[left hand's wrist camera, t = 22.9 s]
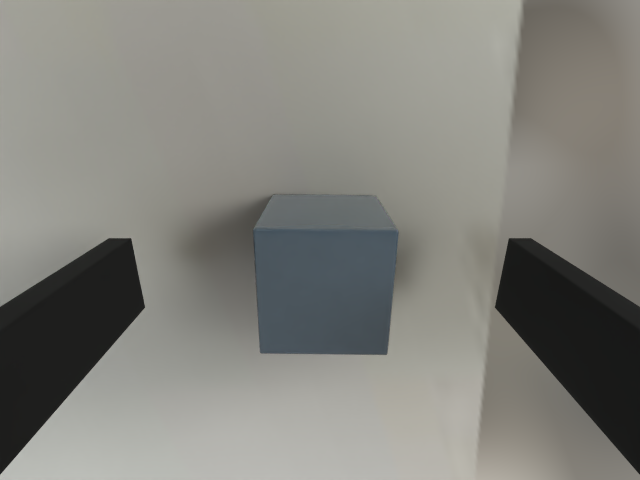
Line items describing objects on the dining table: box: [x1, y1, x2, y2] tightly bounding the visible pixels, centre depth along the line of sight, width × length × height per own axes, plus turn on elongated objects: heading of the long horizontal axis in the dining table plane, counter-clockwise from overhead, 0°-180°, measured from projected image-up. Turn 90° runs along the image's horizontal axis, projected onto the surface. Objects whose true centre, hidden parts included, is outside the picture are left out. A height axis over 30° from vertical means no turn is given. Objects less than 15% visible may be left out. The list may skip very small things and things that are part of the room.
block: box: [253, 194, 399, 355], centre depth 14 cm, size 4×4×5 cm
